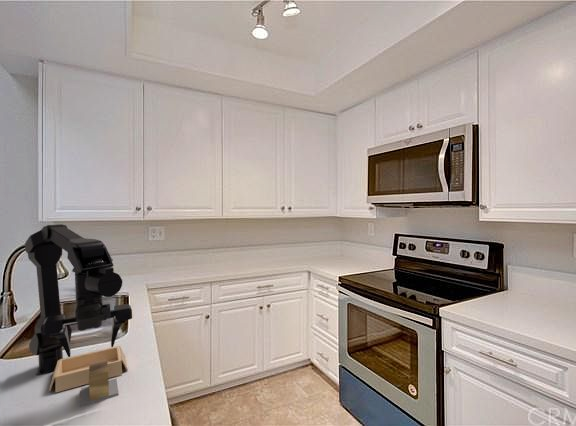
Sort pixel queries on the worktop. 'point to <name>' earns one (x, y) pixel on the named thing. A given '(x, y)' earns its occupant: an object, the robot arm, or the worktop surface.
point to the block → (98, 379)
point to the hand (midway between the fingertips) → (91, 351)
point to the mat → (86, 398)
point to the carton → (86, 367)
